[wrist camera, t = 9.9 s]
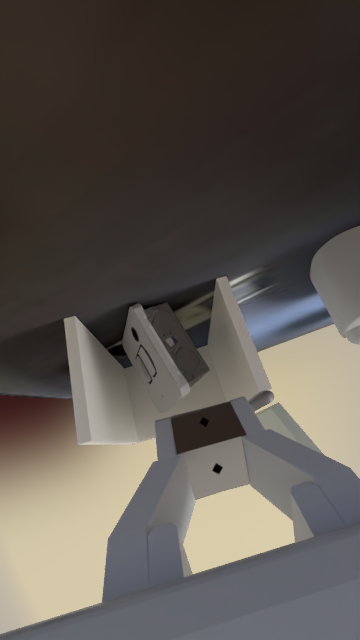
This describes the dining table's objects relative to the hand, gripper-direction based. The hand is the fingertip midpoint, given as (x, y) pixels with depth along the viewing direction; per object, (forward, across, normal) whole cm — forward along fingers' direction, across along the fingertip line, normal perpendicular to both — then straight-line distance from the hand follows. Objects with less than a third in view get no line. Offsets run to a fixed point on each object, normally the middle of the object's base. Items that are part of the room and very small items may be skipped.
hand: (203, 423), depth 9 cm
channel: (+24, -1, -7) cm, 25 cm away
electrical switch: (+21, -2, -4) cm, 21 cm away
